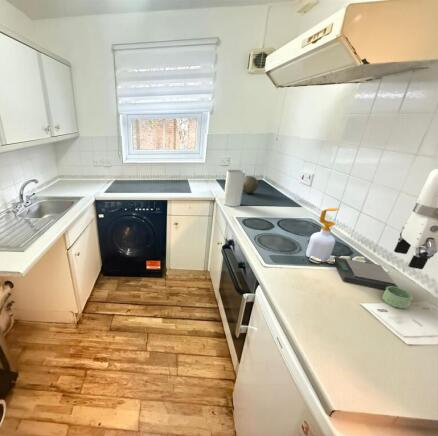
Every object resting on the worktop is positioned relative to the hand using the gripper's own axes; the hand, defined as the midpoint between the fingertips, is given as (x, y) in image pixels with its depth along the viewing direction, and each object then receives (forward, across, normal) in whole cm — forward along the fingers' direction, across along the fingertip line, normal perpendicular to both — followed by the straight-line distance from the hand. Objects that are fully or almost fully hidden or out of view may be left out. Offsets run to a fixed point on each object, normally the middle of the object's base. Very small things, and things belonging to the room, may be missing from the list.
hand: (407, 259), depth 77 cm
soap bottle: (+17, +24, +17) cm, 34 cm away
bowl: (+17, 0, -2) cm, 17 cm away
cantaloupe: (+10, +120, +53) cm, 131 cm away
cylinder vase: (+18, +86, +62) cm, 108 cm away
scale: (+17, +15, +3) cm, 23 cm away
